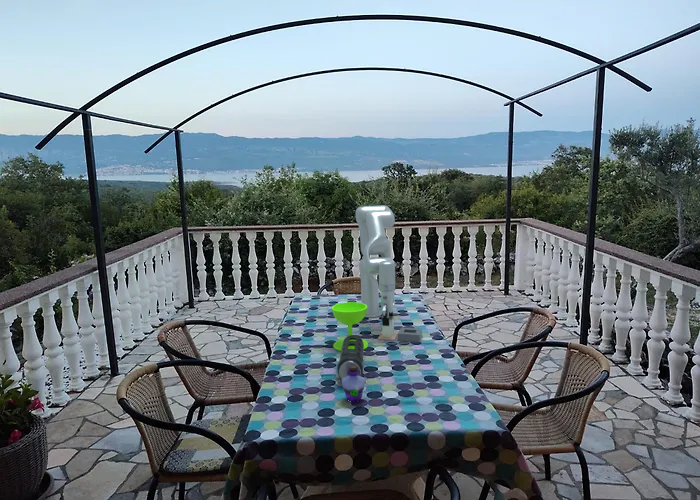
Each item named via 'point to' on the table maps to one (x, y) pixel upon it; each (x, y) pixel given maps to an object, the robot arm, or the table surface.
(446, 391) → the table surface
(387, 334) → the plug
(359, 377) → the potion bottle
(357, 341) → the muzzle brake
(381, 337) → the mat
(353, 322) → the wineglass
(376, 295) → the robot arm
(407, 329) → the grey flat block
